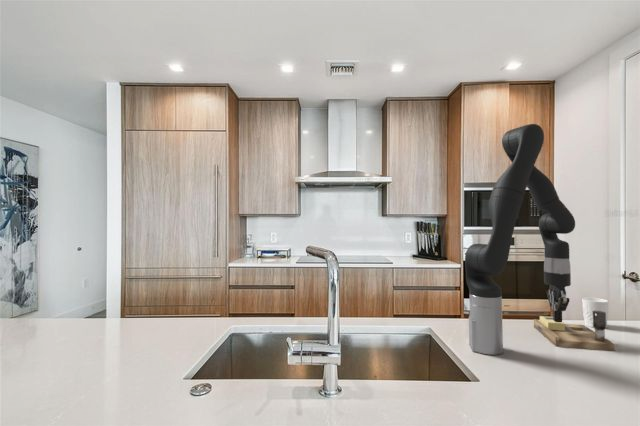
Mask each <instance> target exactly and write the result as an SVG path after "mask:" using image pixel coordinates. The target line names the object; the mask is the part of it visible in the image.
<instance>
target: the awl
mask: <svg viewBox="0 0 640 426" xmlns="http://www.w3.org/2000/svg"><path fill="white" fill-rule="evenodd" d="M593 327H594V332H595V340H597V341H601V342H604V341H605V339H606V334H605V333H606V332H605V331H606V329H607V328H606V313H605V312H602V311H593ZM593 327H592V328H593Z"/></svg>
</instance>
